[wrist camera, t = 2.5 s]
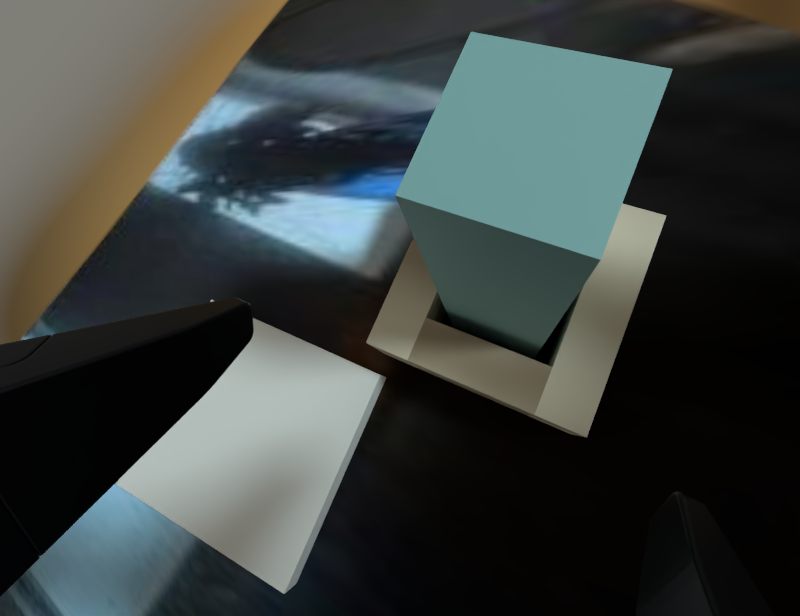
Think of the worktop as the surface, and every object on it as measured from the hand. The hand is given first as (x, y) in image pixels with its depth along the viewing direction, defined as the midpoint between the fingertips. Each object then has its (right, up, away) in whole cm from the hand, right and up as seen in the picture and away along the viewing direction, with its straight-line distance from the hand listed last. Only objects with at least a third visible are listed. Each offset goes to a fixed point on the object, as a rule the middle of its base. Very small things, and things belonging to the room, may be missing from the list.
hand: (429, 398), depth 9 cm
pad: (-8, -4, +13) cm, 16 cm away
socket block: (+5, +2, +12) cm, 13 cm away
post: (+5, +2, +12) cm, 13 cm away
